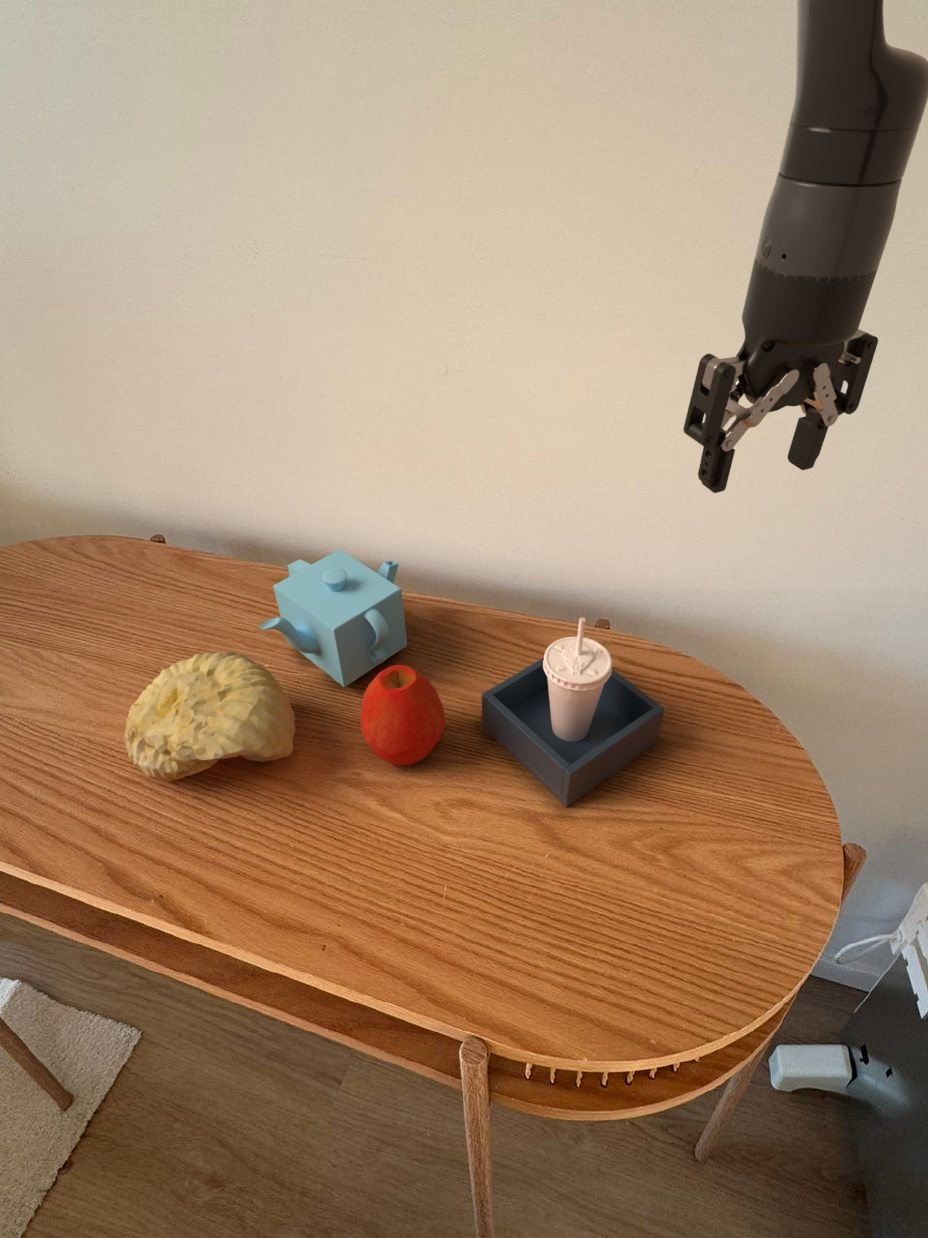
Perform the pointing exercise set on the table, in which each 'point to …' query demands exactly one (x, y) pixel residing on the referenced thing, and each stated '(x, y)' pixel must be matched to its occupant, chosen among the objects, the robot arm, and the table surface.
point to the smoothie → (575, 682)
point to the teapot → (341, 614)
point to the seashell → (208, 717)
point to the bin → (566, 766)
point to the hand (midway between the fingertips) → (756, 476)
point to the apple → (401, 716)
